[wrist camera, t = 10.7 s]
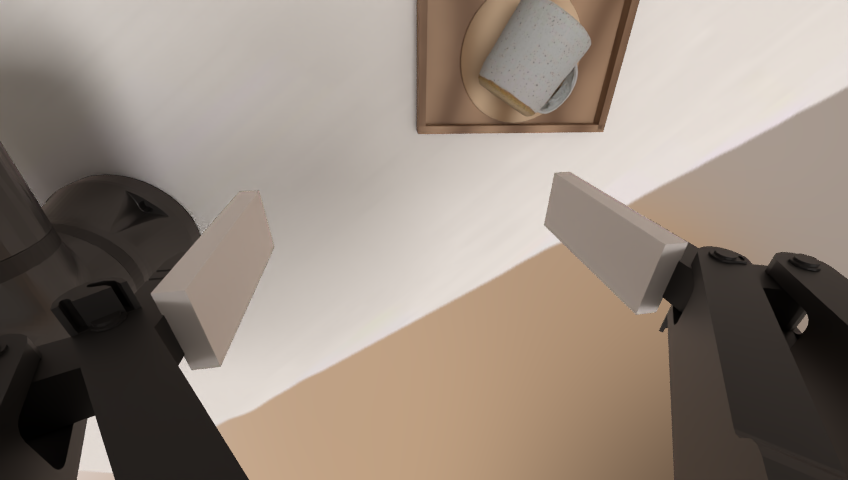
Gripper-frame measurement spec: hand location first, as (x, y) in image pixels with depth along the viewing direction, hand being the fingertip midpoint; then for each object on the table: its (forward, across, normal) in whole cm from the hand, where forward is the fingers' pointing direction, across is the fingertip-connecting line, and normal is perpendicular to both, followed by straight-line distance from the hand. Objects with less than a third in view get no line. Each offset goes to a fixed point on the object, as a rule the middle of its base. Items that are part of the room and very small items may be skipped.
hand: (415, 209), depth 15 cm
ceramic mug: (+24, +15, +5) cm, 29 cm away
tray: (+25, +15, +8) cm, 30 cm away
